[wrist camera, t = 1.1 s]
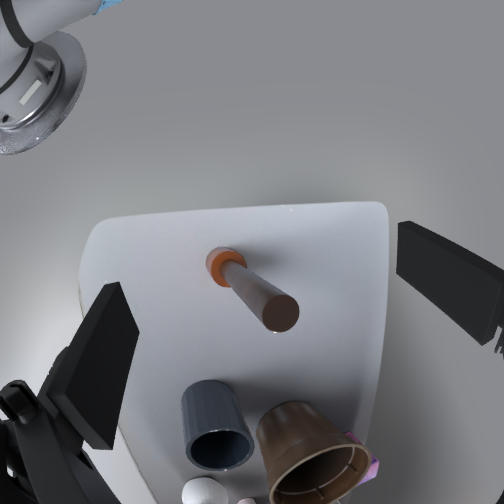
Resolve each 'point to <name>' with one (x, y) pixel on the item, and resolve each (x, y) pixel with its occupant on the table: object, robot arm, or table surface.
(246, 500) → the smoothie
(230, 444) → the blue-grey cylindrical holder
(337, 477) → the plant pot
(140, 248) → the table surface
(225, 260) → the brown rod
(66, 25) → the robot arm
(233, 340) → the table surface
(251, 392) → the table surface
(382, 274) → the table surface
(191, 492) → the cat figurine
